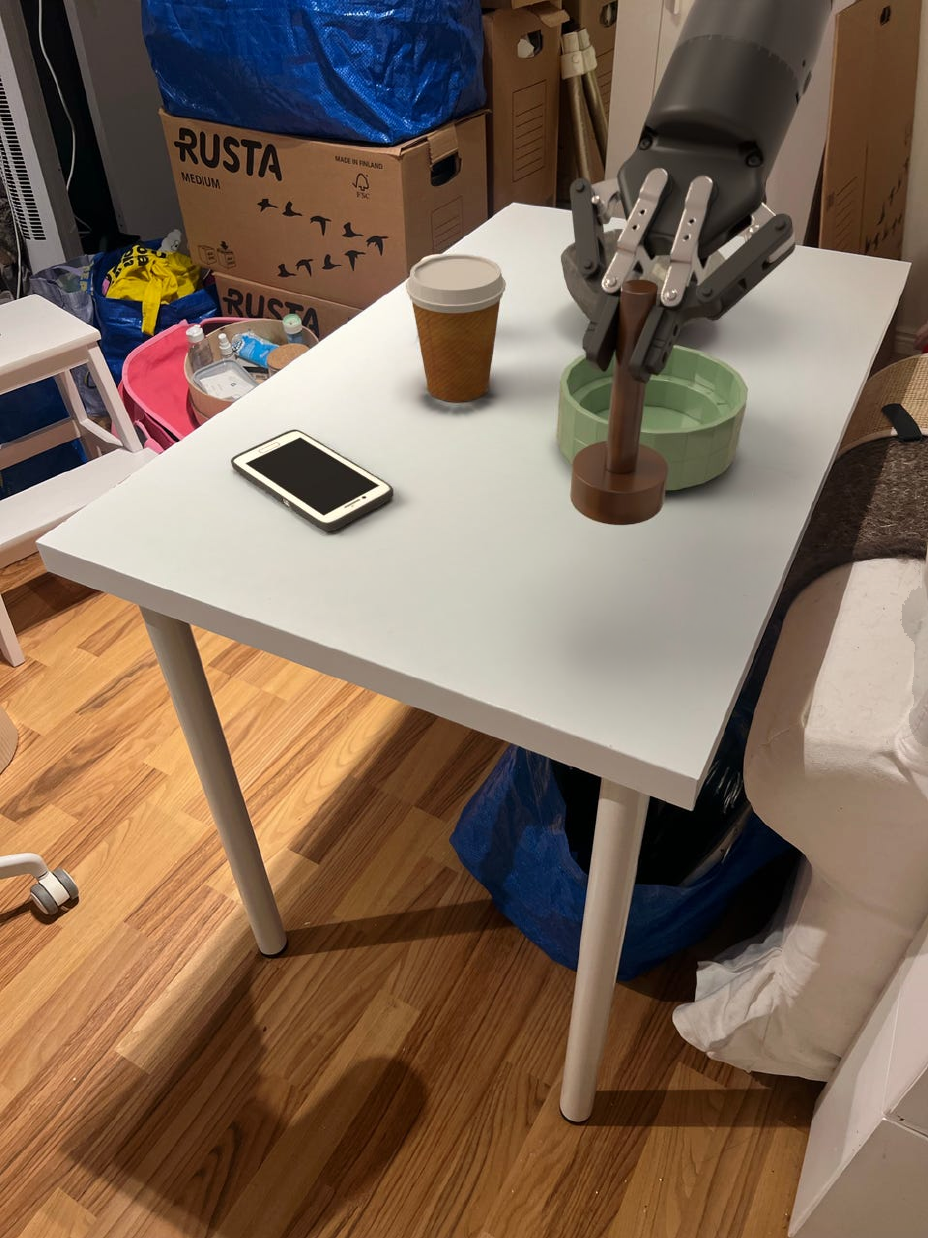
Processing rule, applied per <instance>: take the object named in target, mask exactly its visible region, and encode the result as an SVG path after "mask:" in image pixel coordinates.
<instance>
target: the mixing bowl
mask: <svg viewBox="0 0 928 1238" xmlns="http://www.w3.org/2000/svg"><path fill="white" fill-rule="evenodd" d="M614 358H615V352H614V355H613V357H612V360H611V362H610V365H609V367H608V369H607V370H606V372H602V371H598V370H595V369H592V367H591V366H590V365H589V363H588V362H587V361H586V353H583V354H581V355H578V357H576V358H575V359H574V360H573V361H572V362H570V363H569V364H568V365H567V366H566V367H564V370H563V372H562V374H561V377H560V379H559V387H558V388H559V391H558V406H557V407H558V408H557V409H558V410H557V424H556V439H557V445H558V448H559V451H560V453H561V454H562V455H563V456H564V458H565V459H566V460H567V461H568V463H569V464H570V465H572V463H573V460H574V457H575V456H576V454H577V453H578V452H579V451H580V450H582V449H583V448H585V447H587V446H589V445H591V444H594V443H598V442H602V441H607V431H608V421H609V410H610V400H611V390H612V379H613V369H614ZM748 391H749V388H748V386H747V384H746V383H745V380H744V379H743V377H742V375H741V374H740V372H738V371H737V370H735V369H734V368H733V367H732V366H731V365H729V364H728V363H726V362H725V361H724V360H722V359H720V358H717V357H715V356H712V355H710V354H708V353H706V352H704V351H700V350H697V349H693V348H689V347H685V346H682V345H677V344H674V346H673V349H672V351H671V354H670V356H669V358H668V361H667V363H666V366H665V368H664V369H663V371H662V372H661V373H660V374H659V375H658V376H656V375H653V374H652V375H651V378H650V380H649V381H648V383H647V384H646V393H645V401H644V409H643V417H642V425H641V433H640V441H639V444H642V445H645V446H648V447H650V448H652V449H654V450H655V451H657V452H658V453H659V454H661V455H662V456H663V457H664V459H665V460H666V462H667V464H668V477H667V484H666V490H665V491H678V490H682V489H686V488H691V487H696V486H698V485H703V484H706V483H708V482H709V481H711V480H713V479H714V478H717V477H718V476H720V475H722V474H723V473H725V472H726V470H727V469H728V467H730V465H731V464H732V463H733V461H734V460H735V459H736V453H737V449H738V444H739V440H740V435H741V431H742V425H743V422H744V416H745V411H746V407H747V401H748Z"/></svg>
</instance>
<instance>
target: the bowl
mask: <svg viewBox="0 0 928 1238" xmlns="http://www.w3.org/2000/svg"><path fill="white" fill-rule="evenodd" d="M622 230H623V228H613V229H611V230H608V231H604V236H605V246H606V255H607V264H608V267H609V265H610V263H611V261H612V259H613V257H614V255H615V253H616V249H617V248H616V246H617V241H618V238H619V236H620V234H621V232H622ZM726 260H727V259H726V257H725V256H724V255H723V254H722V253H721V252H720V251H719V249H718V250H717V251H716V252H714V253H713V254H712V256H711V260H710V263H709V266H708V269H707V272H706V276H705V279H706V278H707V277H708V276H709V275H710V274H711V273H713V272H714V271H715V270H716V269H717V268H718V267H719V266H720V265H721V264H722V263H723V262H724V261H726ZM560 263H561V267H562V273H563V278H564V282H565V284H566V288H567V291H568V292H569V294H570V296H571V298H572V299H573V301H574V302H575V304H577V306H578V308H579V309H580V311H581V312H582V313H583V314H584V316H586V318H587V319H589V320H590V319H591V317H592V314H593V312H594V309H595V307H596V304H597V302H598V299H599V294H597V293H594V292H592V291H591V290H590V288H589V286H588V285H587V283H586V282H585V280H584V279H583V277H582V275H581V274H580V272H579V271H578V267H577V257H576V247H575V241H574V242H572V243H571V244H569V245H568V246H567V247H566V248H565V249H564V250H563V252H562V253H561V255H560ZM669 266H670V255H663V256H659V258H658V260H657V262H656V264H655V266H654V268H653V270H652V272H651V274H650V275H649V276H648V277H645V278H644V280H648V281H652V282H654V283H656V284H657V285H658V296H657V304H656V306H659V303H660V301H661V299H660V296H661V292H662V289H663V286H664V282H665V279H666V276H667V273H668V270H669ZM705 279H704V280H705ZM699 319H700V318H694V319H690V320H688V321H687V322H685V323H684V324H683V326H682V327H681V328H683V327H685V326H688V325H690V324H692V323H694V322H696V321H698V320H699Z"/></svg>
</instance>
